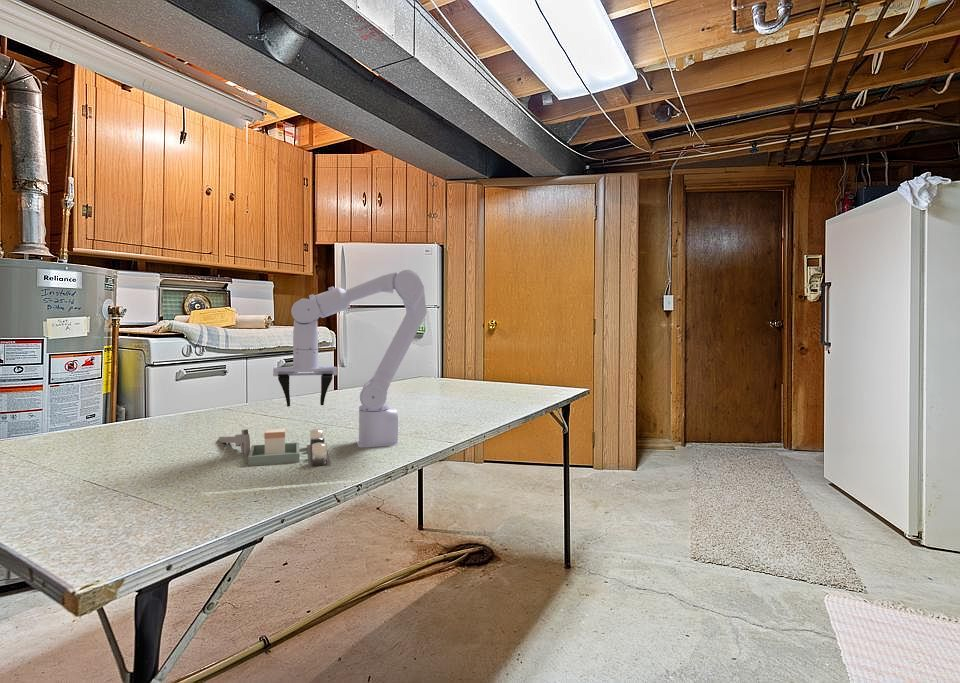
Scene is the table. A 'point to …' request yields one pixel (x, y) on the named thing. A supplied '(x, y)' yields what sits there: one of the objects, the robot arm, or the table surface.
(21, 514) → the table surface
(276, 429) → the beige and orange block
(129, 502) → the table surface
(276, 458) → the tray
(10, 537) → the table surface
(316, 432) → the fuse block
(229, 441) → the caliper
